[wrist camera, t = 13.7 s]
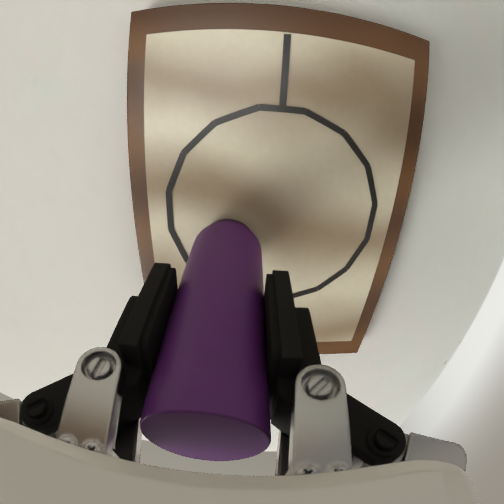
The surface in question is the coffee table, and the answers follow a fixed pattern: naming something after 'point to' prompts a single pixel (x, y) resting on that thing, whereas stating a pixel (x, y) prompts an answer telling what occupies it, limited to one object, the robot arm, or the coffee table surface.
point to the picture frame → (277, 145)
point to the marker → (214, 354)
